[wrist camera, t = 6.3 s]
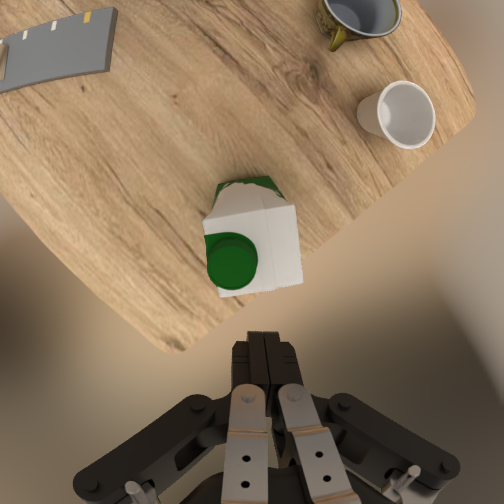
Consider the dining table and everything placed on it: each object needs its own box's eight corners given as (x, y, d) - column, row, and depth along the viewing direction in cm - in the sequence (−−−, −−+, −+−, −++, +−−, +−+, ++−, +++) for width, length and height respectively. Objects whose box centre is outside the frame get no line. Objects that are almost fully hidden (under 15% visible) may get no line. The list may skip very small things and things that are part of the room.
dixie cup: (390, 84, 37) (427, 77, 28) (403, 137, 40) (441, 142, 31) (340, 92, 38) (369, 84, 28) (356, 148, 41) (387, 155, 32)
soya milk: (210, 179, 42) (190, 222, 23) (275, 168, 41) (308, 201, 23) (222, 238, 45) (214, 317, 27) (283, 227, 45) (317, 300, 26)
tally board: (-7, 46, 28) (-14, 45, 27) (118, 11, 31) (113, 6, 29) (-13, 98, 32) (-21, 98, 30) (109, 71, 34) (103, 69, 32)
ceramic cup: (321, -16, 31) (342, -45, 21) (379, 19, 33) (411, 0, 24) (282, 46, 35) (296, 24, 26) (345, 81, 37) (375, 71, 28)
